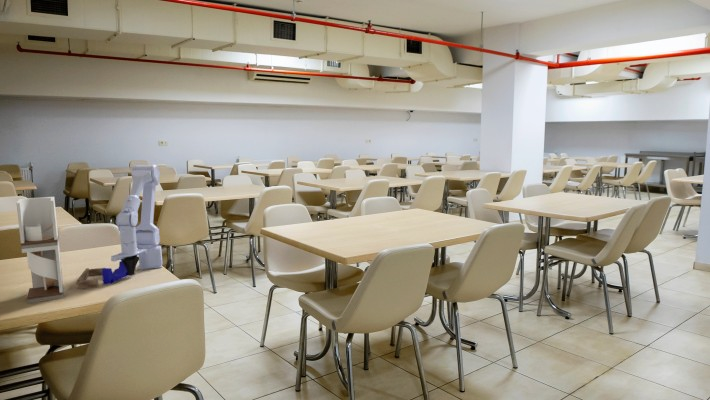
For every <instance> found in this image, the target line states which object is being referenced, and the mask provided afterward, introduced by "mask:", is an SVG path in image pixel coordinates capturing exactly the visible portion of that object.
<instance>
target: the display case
mask: <svg viewBox="0 0 710 400" xmlns="http://www.w3.org/2000/svg"><path fill="white" fill-rule="evenodd" d="M55 199H56V198H55V196H45V197H44V196H43V197H30V198H29V197H27V198H18V200H17V201H16V212H17V219H18V220H17V221H18V228H19V237H20V247H21V249H20V250H21V254H25V253H26V256H27V257H26V258H27V267H28V269H29V270H30V273H31V281H32V282H31V283H32V287H29V288H28V292H27V296H26V300H27V304H31V303H36V302H43V301H50V300H57V299H63V298H64V281H63V280H64V279H63V271H62V261H61V252H60V251H61V250H60V240H59V231H58V222H57V212H56V211H57V210H56V201H55Z"/></svg>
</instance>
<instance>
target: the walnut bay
mask: <svg viewBox="0 0 710 400" xmlns="http://www.w3.org/2000/svg"><path fill="white" fill-rule="evenodd" d="M104 268H105V267H98V268H97V267H96V268H85V269H84V270H83V272H82V273H81V275H80V276H79V277H78V278H77V279H76V288H77V289H89V288H98V287H99V281H98V279H91V280H90V279H89V277H90V276H91V277H92V276H101V275H102V269H104ZM102 276H103V275H102ZM87 279H89V280H87Z"/></svg>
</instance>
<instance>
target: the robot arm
mask: <svg viewBox="0 0 710 400" xmlns="http://www.w3.org/2000/svg"><path fill="white" fill-rule="evenodd" d="M130 173H131V178H132V186H131V189H130V192H129V195H127V196H126V197H125V200H124V202H123V205H122V209H121V211H120V212H119V213H118V214H117V215H116V219H115V224H116V226H117V230H118V232H119V237H120V238H119V239H120V248H121V252H119V253H117V254H114V255H111V256H110V260H111V262H117V261H122V262H123V264H124V265H125V267H126V269H127V272H128V276H133V275H135V272H136V267H137V270H139V271H140V270H149V269H160V268H162V267H163V266H162V265H163V263H164V261H163V260H164V259H163V255H162V254H163V253H162V252H163V251H162V246H161V245H159V243H161V242H160V241H161V236H160V228H158V226H156V225H155V224H154V217H155V216H154V215H155V206H156V205H155V201H156V188H157V186H158V185H159V184H160V167H158V165H157V164H134V165H133V166H132V168H131V172H130ZM141 194H142V199H140V196H141ZM141 201H142V202H141ZM140 205H141V212H140V213H141V214H140V224H139V225H137V224H138V223H139V221H138V220H139V213H138V211H139V208H140ZM137 265H138V266H137Z"/></svg>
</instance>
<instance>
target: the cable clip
mask: <svg viewBox="0 0 710 400" xmlns="http://www.w3.org/2000/svg"><path fill="white" fill-rule="evenodd" d="M118 263H119V265H118V268H115V269H114V270H113V269H112V268H110V267H108V268H107V267H103V268H104V269H102V283H103V285H104V284H105V285H111V284H113V283H116V282H117V281H119V280H121V279H124V278H126V277H128V276H129V275H128V272H127V269H126V267H125V265H124V264H123V262H122V261H121V260H119V262H118Z"/></svg>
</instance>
